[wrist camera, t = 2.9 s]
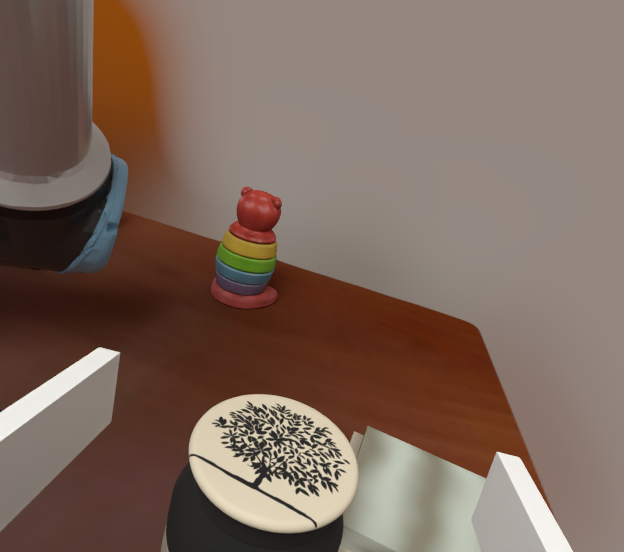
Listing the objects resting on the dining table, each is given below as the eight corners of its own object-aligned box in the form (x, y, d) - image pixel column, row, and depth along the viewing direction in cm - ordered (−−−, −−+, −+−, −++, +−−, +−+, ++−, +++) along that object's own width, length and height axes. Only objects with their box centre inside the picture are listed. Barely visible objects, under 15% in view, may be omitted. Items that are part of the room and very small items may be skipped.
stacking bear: (280, 298, 76) (308, 199, 70) (252, 318, 67) (280, 206, 61) (227, 275, 79) (249, 178, 73) (193, 291, 70) (214, 181, 64)
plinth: (301, 572, 33) (319, 525, 31) (345, 453, 46) (360, 415, 44) (487, 671, 30) (518, 626, 29) (479, 515, 43) (500, 478, 41)
